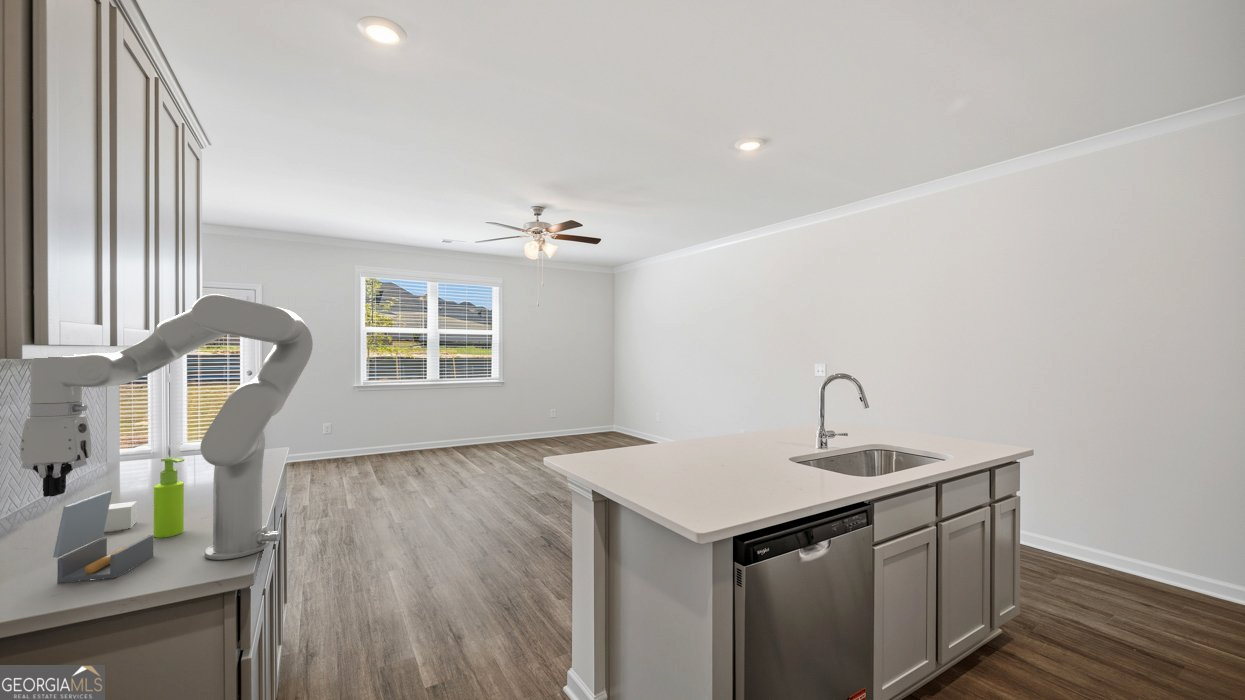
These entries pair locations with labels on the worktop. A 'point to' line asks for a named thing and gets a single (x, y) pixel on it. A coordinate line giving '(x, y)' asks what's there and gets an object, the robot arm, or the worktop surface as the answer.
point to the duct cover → (82, 523)
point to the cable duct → (102, 560)
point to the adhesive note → (121, 516)
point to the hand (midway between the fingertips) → (54, 494)
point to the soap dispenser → (168, 502)
